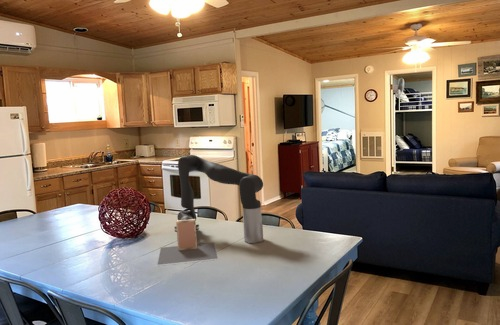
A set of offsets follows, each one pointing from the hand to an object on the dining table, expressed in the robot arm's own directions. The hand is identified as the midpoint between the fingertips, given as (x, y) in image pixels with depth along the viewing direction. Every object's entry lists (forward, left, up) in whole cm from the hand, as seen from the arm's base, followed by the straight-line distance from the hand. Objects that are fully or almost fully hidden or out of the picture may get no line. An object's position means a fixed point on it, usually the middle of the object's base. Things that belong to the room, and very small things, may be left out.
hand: (186, 232), depth 196 cm
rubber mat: (0, +11, -8) cm, 13 cm away
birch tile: (0, +5, -7) cm, 8 cm away
